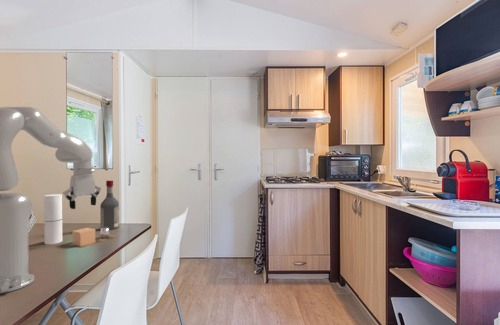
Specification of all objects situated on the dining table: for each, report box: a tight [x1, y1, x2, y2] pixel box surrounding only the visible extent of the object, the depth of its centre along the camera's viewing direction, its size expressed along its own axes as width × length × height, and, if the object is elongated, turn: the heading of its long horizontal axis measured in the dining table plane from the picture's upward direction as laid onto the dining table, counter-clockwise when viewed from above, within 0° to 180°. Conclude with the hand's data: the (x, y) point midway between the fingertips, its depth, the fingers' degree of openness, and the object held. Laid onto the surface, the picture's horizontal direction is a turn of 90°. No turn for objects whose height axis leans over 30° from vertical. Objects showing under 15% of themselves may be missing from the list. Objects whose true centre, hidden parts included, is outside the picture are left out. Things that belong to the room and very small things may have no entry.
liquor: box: [99, 180, 120, 231], centre depth 155 cm, size 9×9×30 cm
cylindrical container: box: [43, 193, 63, 245], centre depth 129 cm, size 7×7×25 cm
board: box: [68, 233, 120, 248], centre depth 132 cm, size 20×10×2 cm, turn 151°
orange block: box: [72, 227, 96, 248], centre depth 127 cm, size 7×7×6 cm
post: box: [99, 227, 110, 239], centre depth 137 cm, size 4×4×5 cm
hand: (83, 206), depth 127 cm, fingers open, 9 cm apart
